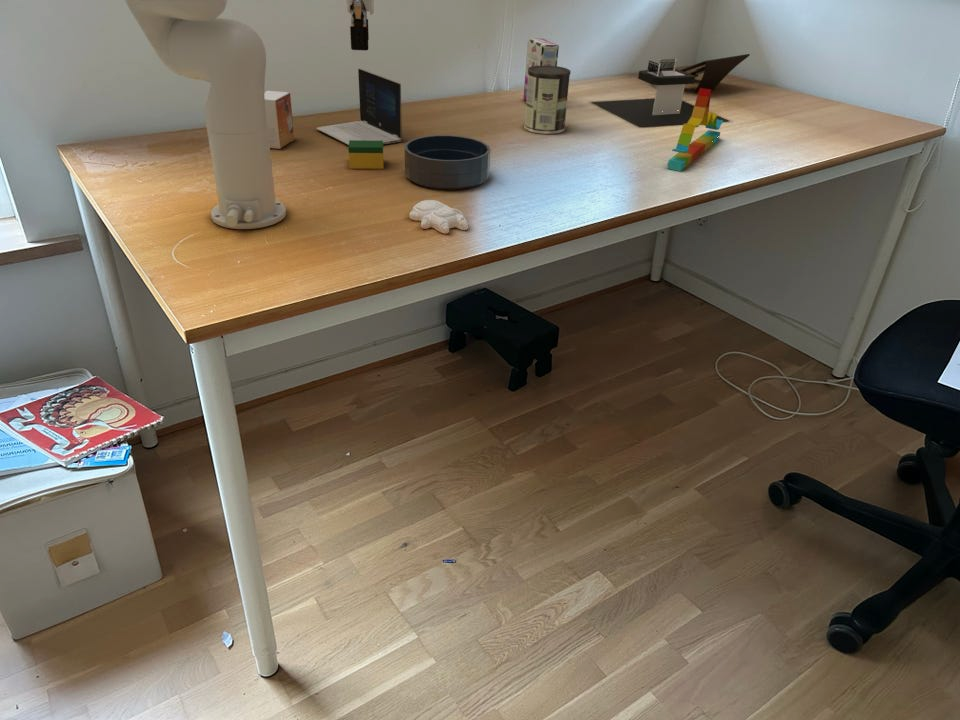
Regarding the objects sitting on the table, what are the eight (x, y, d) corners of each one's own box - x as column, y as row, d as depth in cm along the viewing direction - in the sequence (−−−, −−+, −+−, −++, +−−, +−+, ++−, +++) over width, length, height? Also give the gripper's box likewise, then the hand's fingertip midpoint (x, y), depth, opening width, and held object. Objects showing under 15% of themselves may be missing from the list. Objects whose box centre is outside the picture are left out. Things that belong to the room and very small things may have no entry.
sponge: (383, 168, 153) (382, 147, 150) (349, 168, 152) (348, 147, 149) (383, 161, 157) (382, 140, 154) (350, 161, 156) (349, 140, 153)
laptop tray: (692, 97, 245) (686, 69, 243) (753, 77, 226) (748, 46, 224) (648, 106, 232) (642, 76, 230) (710, 85, 213) (704, 53, 211)
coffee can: (553, 121, 189) (558, 64, 182) (571, 133, 181) (578, 73, 174) (516, 124, 186) (521, 65, 178) (534, 135, 178) (539, 74, 170)
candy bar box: (553, 109, 200) (559, 45, 191) (536, 110, 199) (542, 45, 190) (538, 99, 209) (544, 37, 200) (522, 99, 208) (527, 37, 199)
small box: (280, 149, 160) (275, 100, 155) (256, 147, 161) (250, 97, 155) (295, 139, 167) (290, 92, 161) (272, 137, 168) (267, 89, 162)
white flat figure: (431, 237, 124) (431, 220, 122) (402, 212, 133) (402, 196, 131) (476, 229, 128) (477, 213, 126) (445, 206, 136) (446, 190, 135)
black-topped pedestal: (674, 97, 218) (683, 49, 211) (729, 121, 198) (741, 69, 190) (591, 102, 209) (597, 52, 202) (640, 127, 188) (648, 72, 181)
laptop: (316, 130, 174) (311, 73, 167) (361, 123, 180) (359, 67, 173) (355, 150, 162) (352, 89, 155) (402, 142, 169) (401, 83, 162)
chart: (706, 137, 183) (719, 74, 175) (718, 139, 182) (732, 76, 174) (666, 168, 161) (679, 97, 153) (680, 171, 160) (694, 100, 152)
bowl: (494, 191, 144) (495, 161, 141) (406, 191, 142) (406, 160, 139) (483, 163, 159) (484, 135, 155) (403, 163, 156) (403, 134, 153)
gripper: (377, -53, 125) (380, 54, 134) (377, -59, 140) (379, 38, 149) (333, -55, 124) (338, 53, 133) (337, -61, 139) (342, 37, 148)
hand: (360, 45), depth 141 cm, fingers open, 9 cm apart
